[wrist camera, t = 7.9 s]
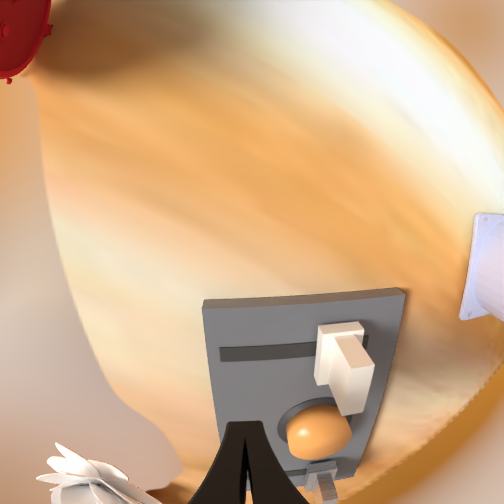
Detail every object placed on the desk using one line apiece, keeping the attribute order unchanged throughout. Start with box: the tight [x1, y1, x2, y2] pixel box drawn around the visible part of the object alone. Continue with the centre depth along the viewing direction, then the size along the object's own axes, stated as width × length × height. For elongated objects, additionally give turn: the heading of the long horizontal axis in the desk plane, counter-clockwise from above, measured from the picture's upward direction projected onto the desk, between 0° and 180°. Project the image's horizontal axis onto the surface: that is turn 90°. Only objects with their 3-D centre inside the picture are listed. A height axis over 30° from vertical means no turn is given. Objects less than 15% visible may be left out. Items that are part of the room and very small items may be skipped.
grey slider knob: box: [304, 460, 338, 504], centre depth 18 cm, size 2×4×4 cm, turn 2°
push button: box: [286, 404, 352, 460], centre depth 17 cm, size 4×4×2 cm
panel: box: [202, 288, 406, 491], centre depth 19 cm, size 12×20×1 cm, turn 2°
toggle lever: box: [314, 321, 375, 416], centre depth 14 cm, size 2×4×4 cm, turn 2°
